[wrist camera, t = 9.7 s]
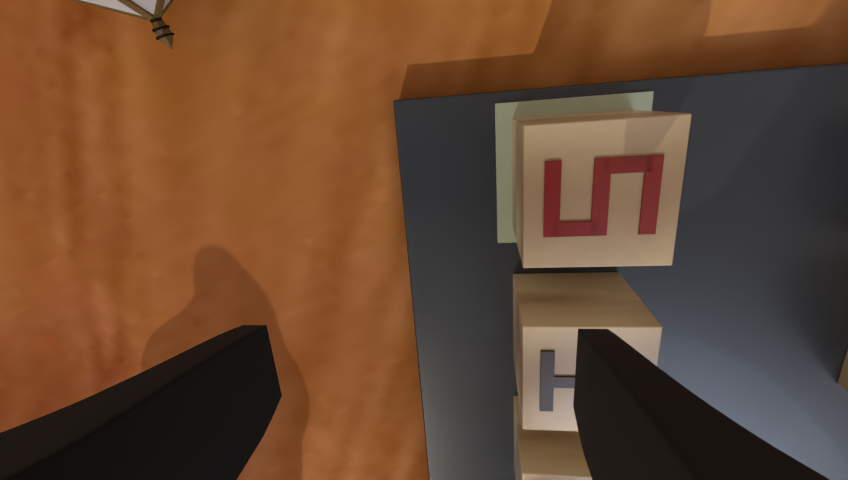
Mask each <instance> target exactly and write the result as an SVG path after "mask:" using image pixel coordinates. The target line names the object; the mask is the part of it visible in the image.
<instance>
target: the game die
mask: <svg viewBox="0 0 848 480" xmlns="http://www.w3.org/2000/svg"><path fill="white" fill-rule="evenodd" d="M72 1H76V2H79V3H83V4H87V5H91V6H95V7H99V8H103V9H107V10H111V11H114V12H118V13H122V14H126V15H130V16H134V17H138V18H142V19H146V20H149V21H150V22H151V23H152V25H153V30H152V31H153V32H155V34H156V36H157V38H156V39H157V40H160V41H162V42H163V43H164V44H166V45H167V46H168V47H170V48H171V49H172V44H173V35H174V33H172V32H171V31H170V29H169V27H170V26H169V25H166V24H165V23H164V21H163V20H162V16H163V14H164V13H165V11H166V10H167V9H168V7H169V6H170V4H171V3H172V2H173V0H72Z"/></svg>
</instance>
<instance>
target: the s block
mask: <svg viewBox="0 0 848 480" xmlns="http://www.w3.org/2000/svg"><path fill="white" fill-rule="evenodd" d="M691 116H692V115H691V114H690V113H677V112H662V111H646V110H621V111H607V112H593V113H580V114H566V115H552V116H538V117H525V118H513V119H512V201H513V230H514V234H515V238H516V242H517V246H518V250H519V254H520V258H521V262H522V266H523V268H556V267H611V266H665V265H672V262H673V254H674V246H675V239H676V231H677V223H678V216H679V208H680V200H681V193H682V185H683V177H684V169H685V162H686V154H687V146H688V139H689V131H690V123H691Z"/></svg>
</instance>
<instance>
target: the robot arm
mask: <svg viewBox="0 0 848 480" xmlns="http://www.w3.org/2000/svg"><path fill="white" fill-rule="evenodd" d="M281 396H282V395H281V390H280V386H279V381H278V376H277V372H276V367H275V363H274V358H273V354H272V349H271V344H270V340H269V335H268V331H267V326H266V325H243V326H240V327H237V328H234V329H232V330H229V331H227V332H225V333H222V334H220V335H218V336H216V337H214V338H212V339H209V340H207V341H205V342H203V343H201V344H199V345H197V346H195V347H193V348H191V349H189V350H187V351H185V352H183V353H181V354H179V355H177V356H175V357H173V358H171V359H169V360H167V361H165V362H163V363H160V364H158V365H156V366H154V367H152V368H150V369H148V370H146V371H144V372H142V373H140V374H138V375H136V376H133V377H131V378H129V379H127V380H125V381H123V382H120V383H118V384H116V385H114V386H112V387H110V388H108V389H105V390H103V391H101V392H99V393H97V394H95V395H93V396H90V397H88V398H86V399H83V400H81V401H79V402H77V403H74V404H72V405H70V406H67V407H65V408H62V409H60V410H58V411H55V412H53V413H50V414H48V415H45V416H43V417H40V418H38V419H35V420H33V421H30V422H28V423H25V424H23V425H20V426H17V427H15V428H12V429H9V430H7V431H4V432H1V433H0V480H236V479H237V478H238V476H239V475H240V473H241V472H242V470H243V468H244V467H245V465H246V463H247V462H248V460H249V459H250V457H251V455H252V454H253V452H254V450H255V449H256V447H257V446H258V444H259V442H260V441H261V439H262V437H263V436H264V434H265V431H266V429H267V427H268V425H269V423H270V421H271V419H272V417H273V415H274V412H275V410H276V408H277V405H278V403H279V401H280V398H281ZM573 408H574V413H575V417H576V422H577V427H578V432H579V436H580V441H581V445H582V449H583V453H584V456H585V459H586V462H587V465H588V468H589V471H590V474H591V477H592V480H830V479H828V478H826V477H825V476H823V475H821V474H819V473H818V472H816V471H814V470H813V469H811V468H809V467H808V466H806V465H804V464H803V463H801V462H799V461H797V460H796V459H794V458H792V457H791V456H789V455H787V454H786V453H784V452H782V451H781V450H779V449H777V448H775V447H774V446H772V445H770V444H769V443H767V442H766V441H764V440H762V439H761V438H759V437H758V436H756V435H755V434H753V433H751V432H750V431H748V430H747V429H745V428H744V427H742V426H741V425H739V424H738V423H736V422H735V421H733V420H732V419H730V418H729V417H727V416H726V415H724V414H723V413H721V412H720V411H718V410H717V409H715V408H714V407H712V406H711V405H709V404H708V403H706V402H705V401H704V400H702V399H701V398H699V397H698V396H697V395H695V394H694V393H692V392H691V391H690V390H688V389H687V388H685V387H684V386H683V385H681V384H680V383H679V382H677V381H676V380H675V379H673V378H672V377H671V376H669V375H668V374H667V373H665V372H664V371H663V370H661V369H660V368H659V367H657V366H656V365H655V364H653V363H652V362H651V361H650V360H648V359H647V358H646V357H644V356H643V355H642V354H640V353H639V352H638V351H637V350H635V349H634V348H633V347H632V346H630V345H629V344H628V343H626V342H625V341H624V340H622V339H621V338H620V337H619V336H617V335H616V334H615V333H613V332H612V331H610V330H609V329H578V337H577V353H576V370H575V386H574V402H573Z"/></svg>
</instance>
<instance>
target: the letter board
mask: <svg viewBox="0 0 848 480" xmlns="http://www.w3.org/2000/svg"><path fill="white" fill-rule="evenodd" d="M621 110H646V111H662V112H677V113H690V114H691V115H692V116H691V123H690V131H689V139H688V146H687V154H686V162H685V169H684V177H683V185H682V193H681V200H680V208H679V216H678V223H677V231H676V239H675V246H674V254H673V262H672V265H665V266H611V267H556V268H523V266H522V262H521V258H520V254H519V250H518V246H517V242H516V238H515V234H514V230H513V201H512V119H513V118H525V117H538V116H552V115H566V114H580V113H593V112H607V111H621ZM394 114H395V124H396V135H397V145H398V156H399V166H400V177H401V187H402V198H403V208H404V219H405V229H406V240H407V250H408V261H409V271H410V282H411V292H412V303H413V313H414V324H415V334H416V345H417V356H418V366H419V377H420V387H421V398H422V408H423V419H424V429H425V440H426V450H427V461H428V471H429V480H592V477H591V474H590V471H589V468H588V465H587V462H586V459H585V456H584V453H583V449H582V445H581V441H580V436H579V432H578V427H577V422H576V417H575V413H574V408H573V402H574V386H575V370H576V353H577V337H578V329H609V330H610V331H612V332H613V333H615V334H616V335H617V336H619V337H620V338H621V339H622V340H624V341H625V342H626V343H628V344H629V345H630V346H632V347H633V348H634V349H635V350H637V351H638V352H639V353H640V354H642V355H643V356H644V357H646V358H647V359H648V360H650V361H651V362H652V363H653V364H655V365H656V366H657V367H659V368H660V369H661V370H663V371H664V372H665V373H667V374H668V375H669V376H671V377H672V378H673V379H675V380H676V381H677V382H679V383H680V384H681V385H683V386H684V387H685V388H687V389H688V390H690V391H691V392H692V393H694V394H695V395H697V396H698V397H699V398H701V399H702V400H704V401H705V402H706V403H708V404H709V405H711V406H712V407H714V408H715V409H717V410H718V411H720V412H721V413H723V414H724V415H726V416H727V417H729V418H730V419H732V420H733V421H735V422H736V423H738V424H739V425H741V426H742V427H744V428H745V429H747V430H748V431H750V432H751V433H753V434H755V435H756V436H758V437H759V438H761V439H762V440H764V441H766V442H767V443H769V444H770V445H772V446H774V447H775V448H777V449H779V450H781V451H782V452H784V453H786V454H787V455H789V456H791V457H792V458H794V459H796V460H797V461H799V462H801V463H803V464H804V465H806V466H808V467H809V468H811V469H813V470H814V471H816V472H818V473H819V474H821V475H823V476H825V477H826V478H828V479H830V480H848V63H839V64H827V65H815V66H803V67H791V68H779V69H767V70H755V71H743V72H730V73H718V74H706V75H694V76H682V77H670V78H658V79H646V80H634V81H622V82H610V83H598V84H586V85H574V86H561V87H549V88H537V89H525V90H513V91H501V92H489V93H477V94H465V95H453V96H441V97H429V98H417V99H405V100H395V101H394Z"/></svg>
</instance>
